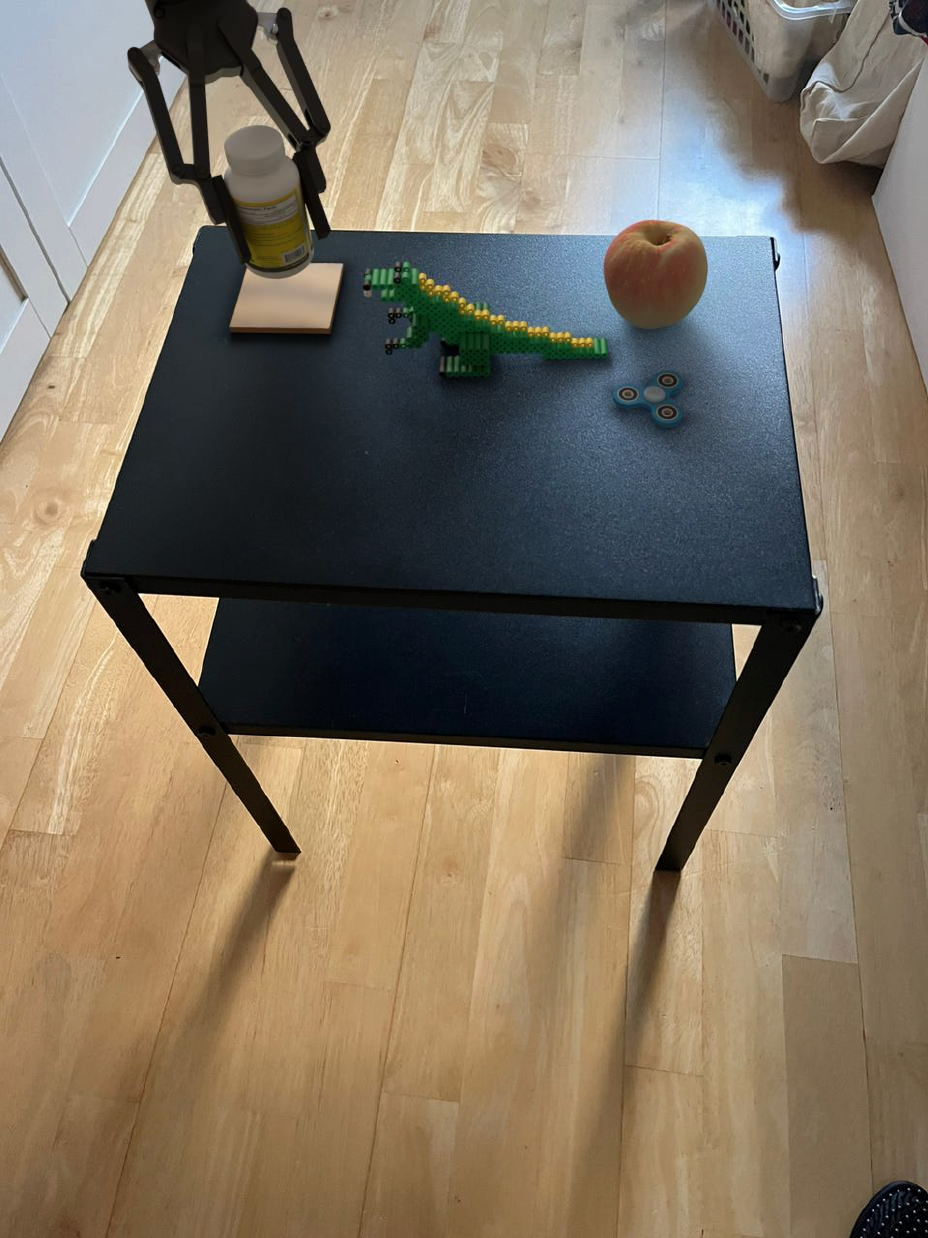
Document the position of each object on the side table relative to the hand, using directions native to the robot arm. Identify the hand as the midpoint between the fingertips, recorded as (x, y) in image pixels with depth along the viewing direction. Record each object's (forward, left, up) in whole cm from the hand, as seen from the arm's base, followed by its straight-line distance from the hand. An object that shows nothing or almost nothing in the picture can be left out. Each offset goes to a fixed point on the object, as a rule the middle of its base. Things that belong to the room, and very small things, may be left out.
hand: (285, 246), depth 86 cm
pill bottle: (+1, +3, -4) cm, 5 cm away
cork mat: (+1, +3, -8) cm, 9 cm away
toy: (+16, -27, -8) cm, 33 cm away
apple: (+24, -19, -8) cm, 32 cm away
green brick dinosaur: (+10, -14, -8) cm, 19 cm away
